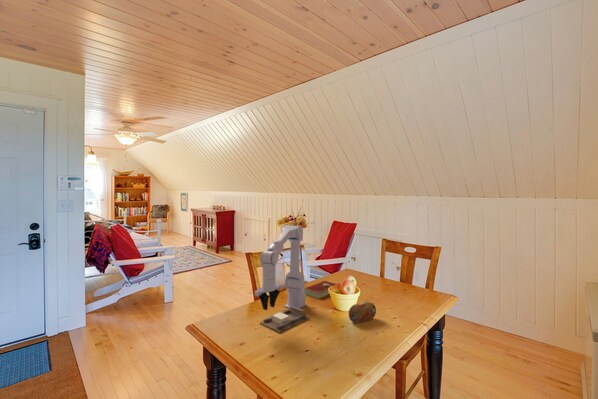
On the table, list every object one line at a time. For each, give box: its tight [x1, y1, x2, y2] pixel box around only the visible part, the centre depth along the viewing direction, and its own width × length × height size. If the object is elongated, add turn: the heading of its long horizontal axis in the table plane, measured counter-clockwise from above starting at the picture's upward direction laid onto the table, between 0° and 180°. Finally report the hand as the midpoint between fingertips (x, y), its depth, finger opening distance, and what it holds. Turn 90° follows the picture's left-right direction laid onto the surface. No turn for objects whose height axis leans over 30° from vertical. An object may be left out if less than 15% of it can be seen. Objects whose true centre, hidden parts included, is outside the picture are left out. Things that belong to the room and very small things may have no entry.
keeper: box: [271, 311, 289, 325], centre depth 136 cm, size 5×6×3 cm
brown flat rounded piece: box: [348, 301, 377, 325], centre depth 140 cm, size 15×3×8 cm, turn 117°
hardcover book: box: [304, 280, 337, 300], centre depth 179 cm, size 12×21×4 cm, turn 139°
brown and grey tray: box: [259, 306, 310, 334], centre depth 138 cm, size 20×13×4 cm, turn 138°
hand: (268, 308), depth 130 cm, fingers open, 4 cm apart
